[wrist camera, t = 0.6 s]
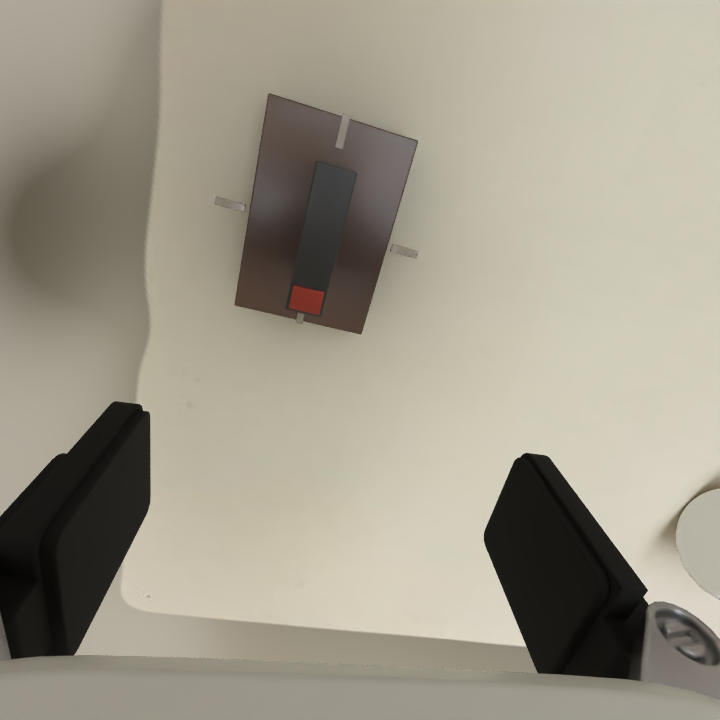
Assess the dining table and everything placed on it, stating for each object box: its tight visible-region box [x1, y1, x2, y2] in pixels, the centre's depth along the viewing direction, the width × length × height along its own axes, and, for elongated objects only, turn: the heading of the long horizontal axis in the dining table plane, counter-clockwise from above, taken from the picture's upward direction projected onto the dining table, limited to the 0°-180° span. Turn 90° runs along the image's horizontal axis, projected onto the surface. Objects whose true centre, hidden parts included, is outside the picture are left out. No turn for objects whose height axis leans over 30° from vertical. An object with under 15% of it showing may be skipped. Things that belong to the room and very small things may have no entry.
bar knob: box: [285, 160, 357, 317], centre depth 19 cm, size 6×2×5 cm, turn 165°
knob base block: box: [215, 94, 418, 334], centre depth 23 cm, size 10×10×3 cm
